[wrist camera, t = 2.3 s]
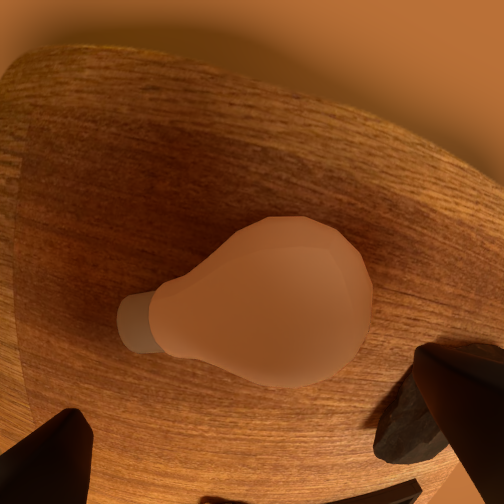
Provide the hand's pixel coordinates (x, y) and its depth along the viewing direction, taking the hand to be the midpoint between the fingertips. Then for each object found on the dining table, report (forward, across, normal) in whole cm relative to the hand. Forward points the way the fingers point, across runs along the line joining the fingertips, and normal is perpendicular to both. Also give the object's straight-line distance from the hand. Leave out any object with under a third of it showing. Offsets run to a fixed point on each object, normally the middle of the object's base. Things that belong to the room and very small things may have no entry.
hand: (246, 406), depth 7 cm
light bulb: (+8, 0, 0) cm, 8 cm away
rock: (+8, -13, +11) cm, 19 cm away
